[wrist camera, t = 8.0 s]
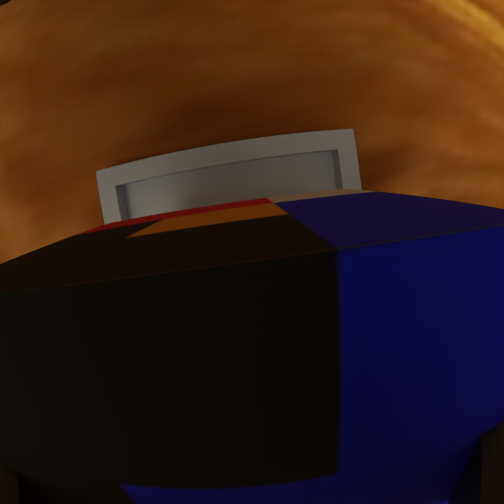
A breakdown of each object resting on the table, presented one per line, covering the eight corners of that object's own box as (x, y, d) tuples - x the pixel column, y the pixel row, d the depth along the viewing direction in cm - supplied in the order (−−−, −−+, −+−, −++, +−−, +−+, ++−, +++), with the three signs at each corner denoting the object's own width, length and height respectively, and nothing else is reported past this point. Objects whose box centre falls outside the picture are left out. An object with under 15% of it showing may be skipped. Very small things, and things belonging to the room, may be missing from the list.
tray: (110, 171, 20) (95, 171, 18) (341, 133, 20) (353, 128, 17) (160, 374, 23) (153, 392, 21) (358, 346, 23) (368, 361, 21)
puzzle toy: (345, 188, 13) (546, 218, 3) (352, 388, 15) (426, 548, 5) (111, 222, 13) (-82, 302, 3) (163, 410, 15) (115, 573, 5)
